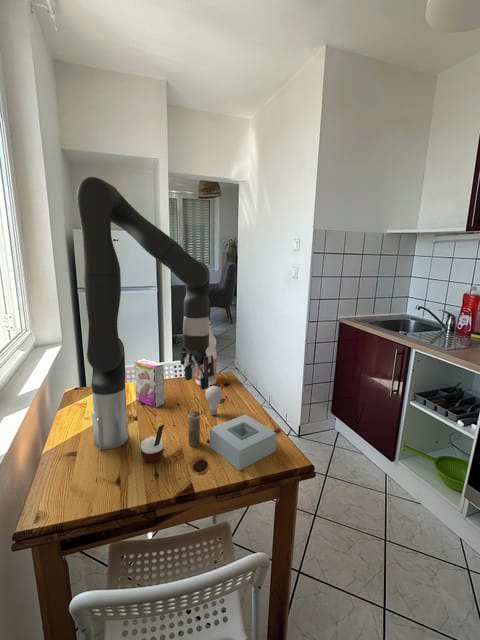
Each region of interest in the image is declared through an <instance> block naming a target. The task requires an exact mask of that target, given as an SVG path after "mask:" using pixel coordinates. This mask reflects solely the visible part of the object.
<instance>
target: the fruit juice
mask: <svg viewBox="0 0 480 640" xmlns="http://www.w3.org/2000/svg"><path fill="white" fill-rule="evenodd" d="M212 326H213V325H212V322H211V321H209V347H208V348H207V349H206V354H207V356H213V366H214V375H213V376H211V377H209V378H208V387H211V386H210V385H212V386H214V385H216V383H217V370H218V369H217V363H218V362H217V360H218V359H217V357H218V356H217V350H216V347H217V339H216V337H215V335H214V334H213V332H212ZM202 366H204V363H203V365H202ZM202 366H200V367H202ZM208 370H209V372H210V369H208ZM203 373H204V370H203ZM200 377H201V375H200V373H199V371H197V369H196V368H195V384H196V383H197V384H198V385H197V384H196V385H197V386H199V385H200ZM213 384H214V385H213Z"/></svg>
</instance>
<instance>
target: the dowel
mask: <svg viewBox="0 0 480 640" xmlns="http://www.w3.org/2000/svg"><path fill="white" fill-rule="evenodd" d="M200 415H201V413H200V412H199V411H195V410H193V411H190V412H188V415H187V416H188V420H187V421H188V424H187V425H188V427H187V428H188V446H189V447H190V448H196V447H197V448H198V447H199V446H200V444H201V421H200V420H201V419H200V417H201V416H200Z"/></svg>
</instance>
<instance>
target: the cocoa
mask: <svg viewBox="0 0 480 640" xmlns="http://www.w3.org/2000/svg"><path fill="white" fill-rule="evenodd" d="M164 428H165V424H162V425H159V426H158V429H157V432H156V436H153V435H152V436H149V437H147V438H145V439H143V440H142V441H141V442H140V445H139V446H140V453H141V456H142V458H143V460H144V461H145V462H147V463H155V462H157V461H159V460H161V458H162V457H163V456H164V451H165V450H164V448H165V446H164V442H163V439H162V434H163V430H164Z"/></svg>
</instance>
